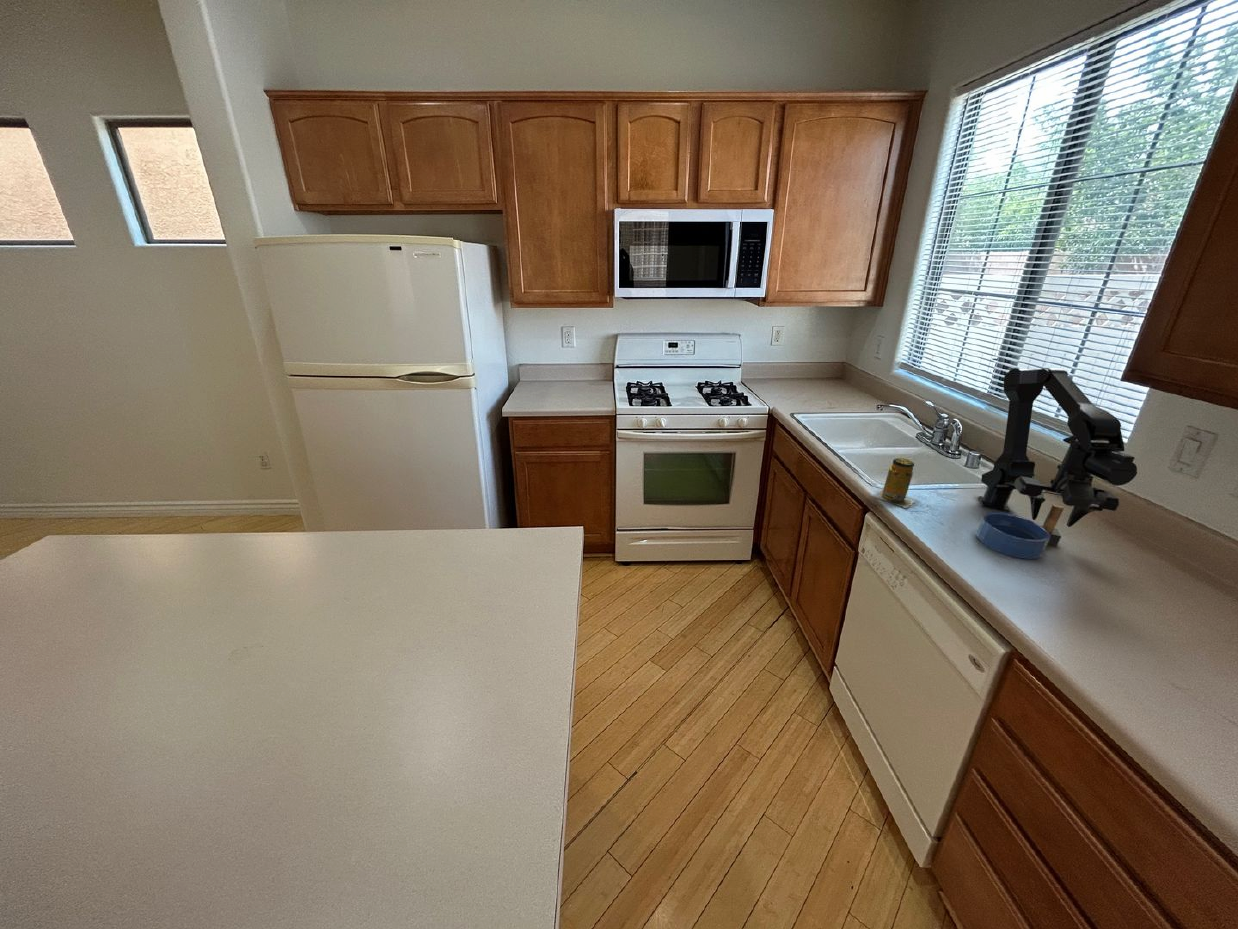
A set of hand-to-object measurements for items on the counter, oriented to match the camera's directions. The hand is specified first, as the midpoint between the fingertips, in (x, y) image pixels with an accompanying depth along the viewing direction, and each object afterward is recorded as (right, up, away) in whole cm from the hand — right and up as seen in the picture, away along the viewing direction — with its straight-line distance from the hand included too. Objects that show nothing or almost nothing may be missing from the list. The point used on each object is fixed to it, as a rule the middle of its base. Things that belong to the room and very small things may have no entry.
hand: (1050, 522), depth 119 cm
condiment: (-27, +4, +20) cm, 34 cm away
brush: (0, -5, +2) cm, 5 cm away
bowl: (-11, -5, 0) cm, 13 cm away
